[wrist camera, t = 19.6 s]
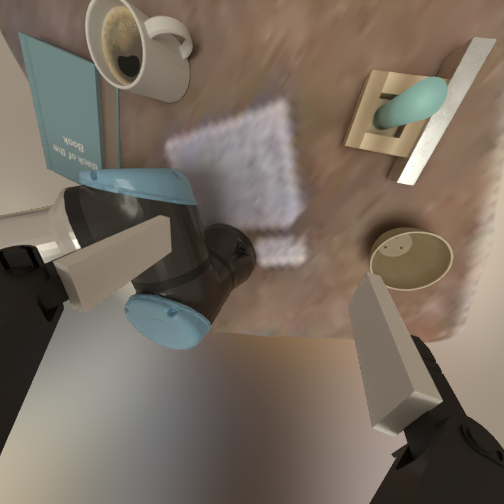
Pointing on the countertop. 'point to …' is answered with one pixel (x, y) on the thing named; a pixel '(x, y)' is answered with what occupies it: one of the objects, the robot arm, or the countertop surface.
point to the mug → (138, 50)
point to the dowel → (412, 104)
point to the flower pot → (410, 258)
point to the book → (72, 109)
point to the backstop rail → (443, 106)
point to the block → (371, 99)
